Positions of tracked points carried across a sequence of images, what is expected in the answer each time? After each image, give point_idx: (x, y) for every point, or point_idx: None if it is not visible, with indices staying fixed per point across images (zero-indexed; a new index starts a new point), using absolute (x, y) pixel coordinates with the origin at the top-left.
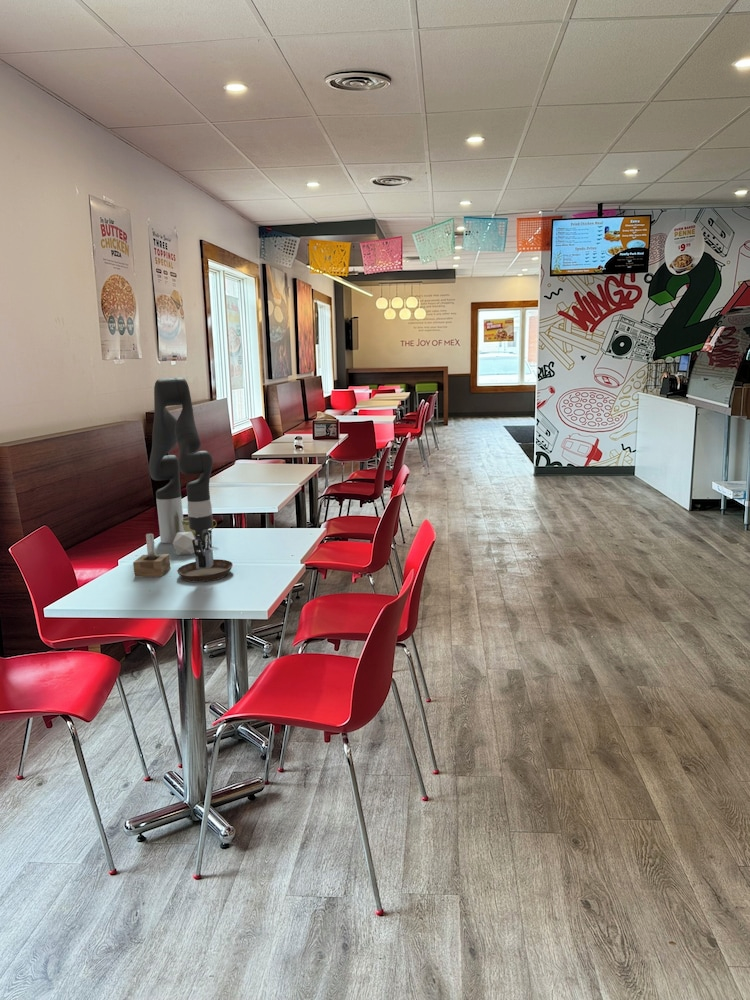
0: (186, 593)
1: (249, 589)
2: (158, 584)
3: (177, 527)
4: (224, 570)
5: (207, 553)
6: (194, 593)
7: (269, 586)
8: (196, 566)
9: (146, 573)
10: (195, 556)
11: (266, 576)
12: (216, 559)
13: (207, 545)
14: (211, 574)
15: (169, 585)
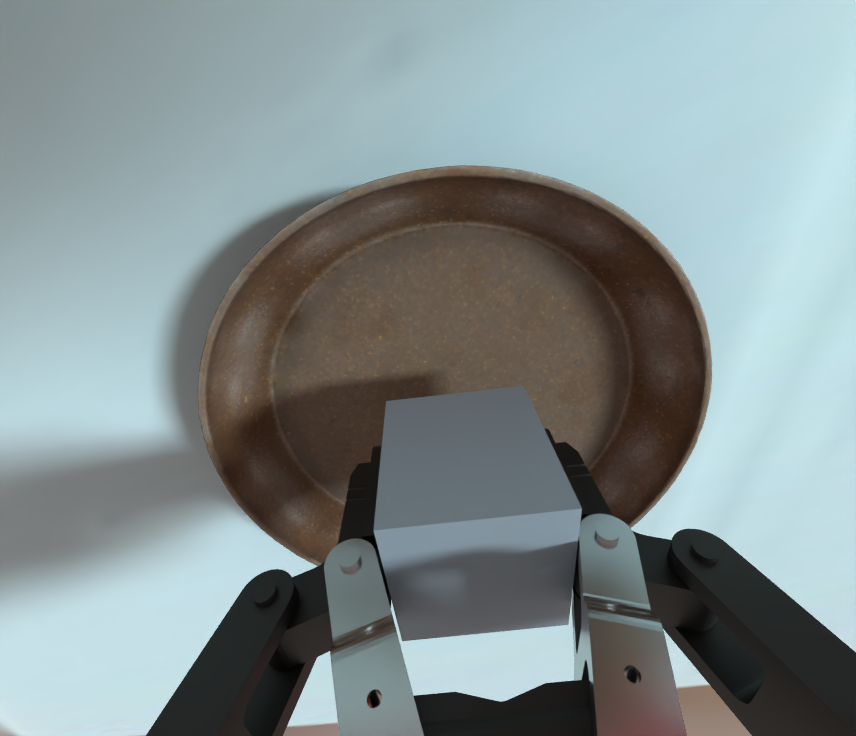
0: (8, 436)
1: None
2: (79, 45)
3: None
4: None
5: (401, 632)
6: (39, 481)
7: None
8: (386, 418)
9: None
10: (377, 502)
11: (427, 660)
12: (689, 450)
13: (577, 666)
14: (277, 540)
15: (106, 209)
